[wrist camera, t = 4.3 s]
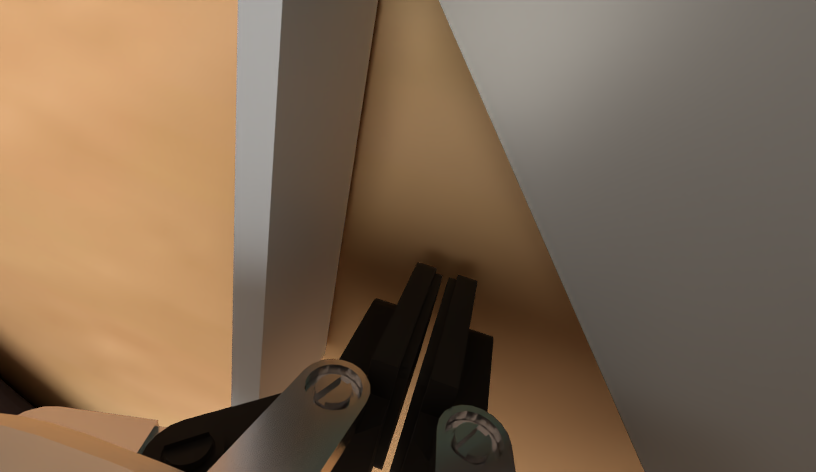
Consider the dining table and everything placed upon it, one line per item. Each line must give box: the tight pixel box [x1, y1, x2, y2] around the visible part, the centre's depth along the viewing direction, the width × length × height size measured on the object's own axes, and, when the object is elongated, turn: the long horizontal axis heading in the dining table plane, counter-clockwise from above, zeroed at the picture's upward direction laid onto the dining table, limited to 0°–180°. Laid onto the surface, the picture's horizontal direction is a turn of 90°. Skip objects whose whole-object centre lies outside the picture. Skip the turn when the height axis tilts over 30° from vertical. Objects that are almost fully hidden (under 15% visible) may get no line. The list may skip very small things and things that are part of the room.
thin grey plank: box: [231, 0, 378, 407], centre depth 10 cm, size 12×1×4 cm, turn 168°
